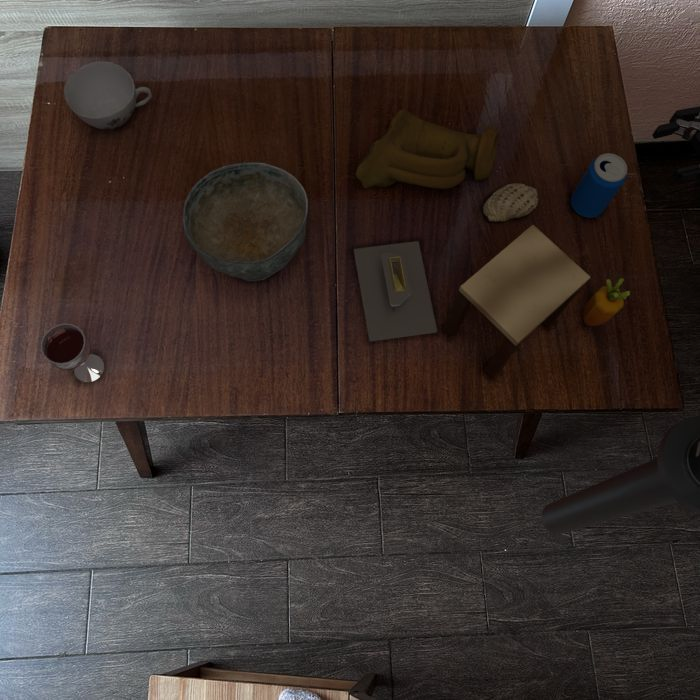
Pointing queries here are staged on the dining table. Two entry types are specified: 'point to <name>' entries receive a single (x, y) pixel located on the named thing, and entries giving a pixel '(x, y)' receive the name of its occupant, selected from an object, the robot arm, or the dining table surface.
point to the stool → (519, 292)
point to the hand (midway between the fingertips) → (664, 154)
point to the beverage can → (599, 185)
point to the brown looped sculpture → (426, 154)
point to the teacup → (103, 94)
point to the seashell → (510, 202)
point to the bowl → (246, 219)
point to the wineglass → (71, 352)
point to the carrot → (604, 304)
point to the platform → (394, 291)
